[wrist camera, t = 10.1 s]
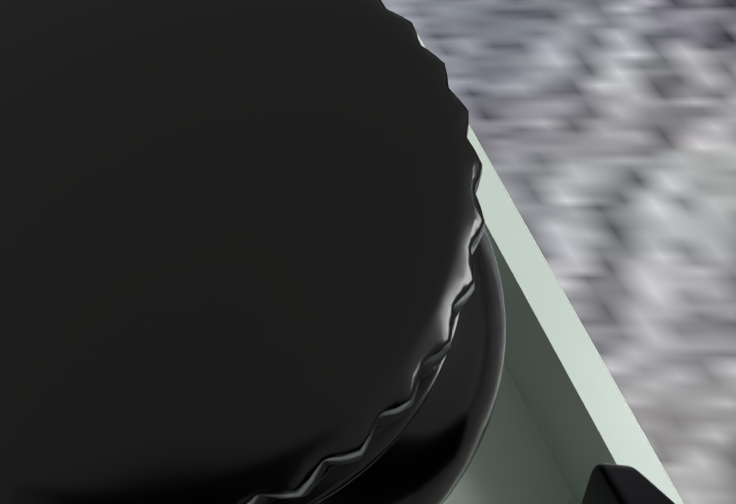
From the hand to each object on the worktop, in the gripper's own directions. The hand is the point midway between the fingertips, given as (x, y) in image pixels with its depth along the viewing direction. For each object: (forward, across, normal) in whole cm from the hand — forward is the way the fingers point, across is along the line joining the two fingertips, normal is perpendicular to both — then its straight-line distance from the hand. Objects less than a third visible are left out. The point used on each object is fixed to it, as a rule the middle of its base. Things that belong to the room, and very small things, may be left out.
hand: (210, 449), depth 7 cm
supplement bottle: (+7, 0, +5) cm, 9 cm away
